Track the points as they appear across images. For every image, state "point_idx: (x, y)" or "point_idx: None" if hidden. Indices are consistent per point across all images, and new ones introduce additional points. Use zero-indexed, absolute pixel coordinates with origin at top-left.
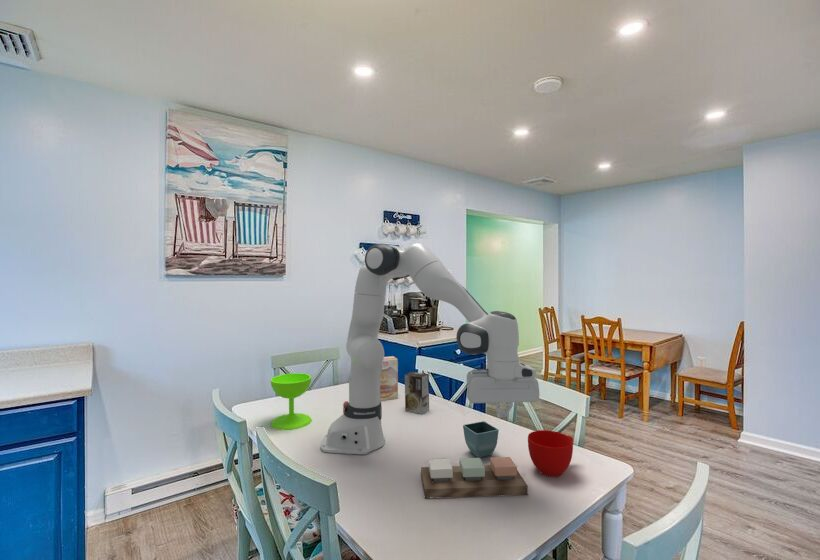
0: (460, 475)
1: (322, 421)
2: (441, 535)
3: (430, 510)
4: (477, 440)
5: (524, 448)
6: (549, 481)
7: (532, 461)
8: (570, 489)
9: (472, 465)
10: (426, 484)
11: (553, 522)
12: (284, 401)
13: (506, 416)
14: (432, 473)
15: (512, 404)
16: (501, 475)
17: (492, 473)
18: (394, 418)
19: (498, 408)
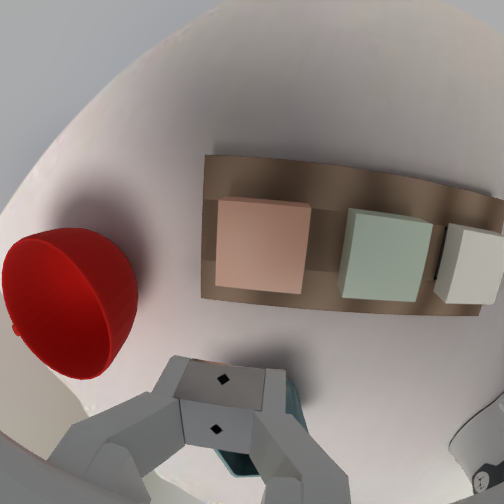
0: None
1: None
2: (476, 56)
3: (490, 144)
4: (295, 407)
5: (141, 389)
6: (123, 221)
7: (137, 293)
8: (89, 175)
9: (394, 241)
10: (498, 224)
11: (201, 31)
12: None
13: (194, 363)
14: (501, 235)
15: (63, 441)
16: (284, 201)
17: None
18: (384, 501)
19: (291, 450)
